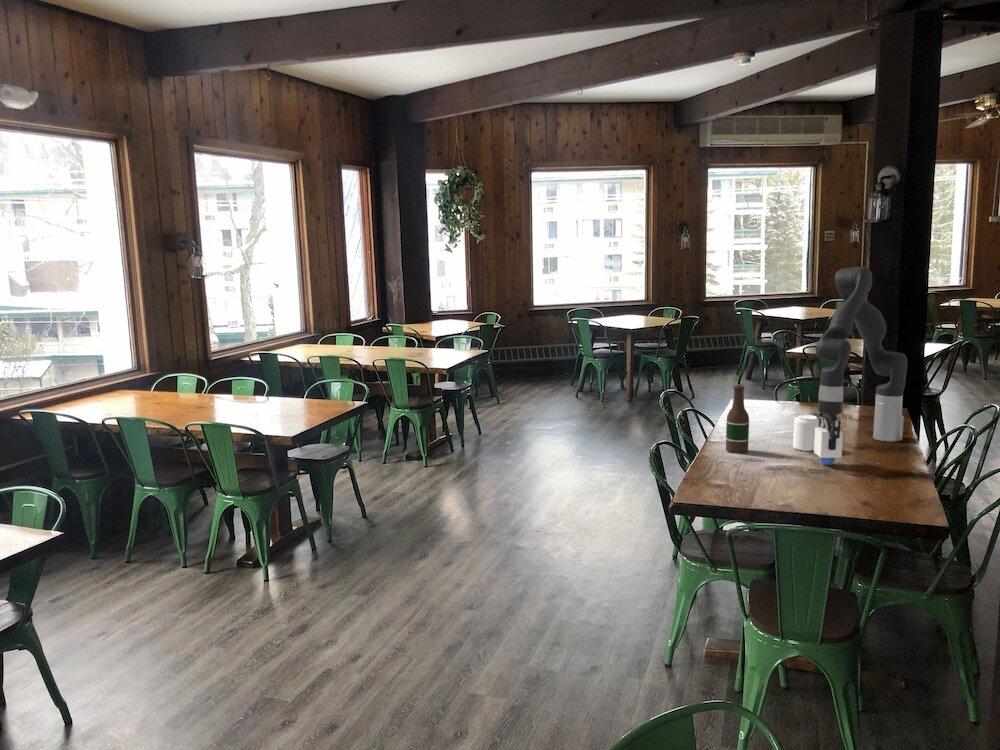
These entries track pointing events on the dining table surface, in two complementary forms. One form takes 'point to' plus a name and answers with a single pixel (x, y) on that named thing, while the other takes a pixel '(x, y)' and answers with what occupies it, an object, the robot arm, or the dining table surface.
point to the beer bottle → (737, 424)
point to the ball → (826, 461)
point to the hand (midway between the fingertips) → (828, 446)
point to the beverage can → (804, 432)
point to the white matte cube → (826, 444)
